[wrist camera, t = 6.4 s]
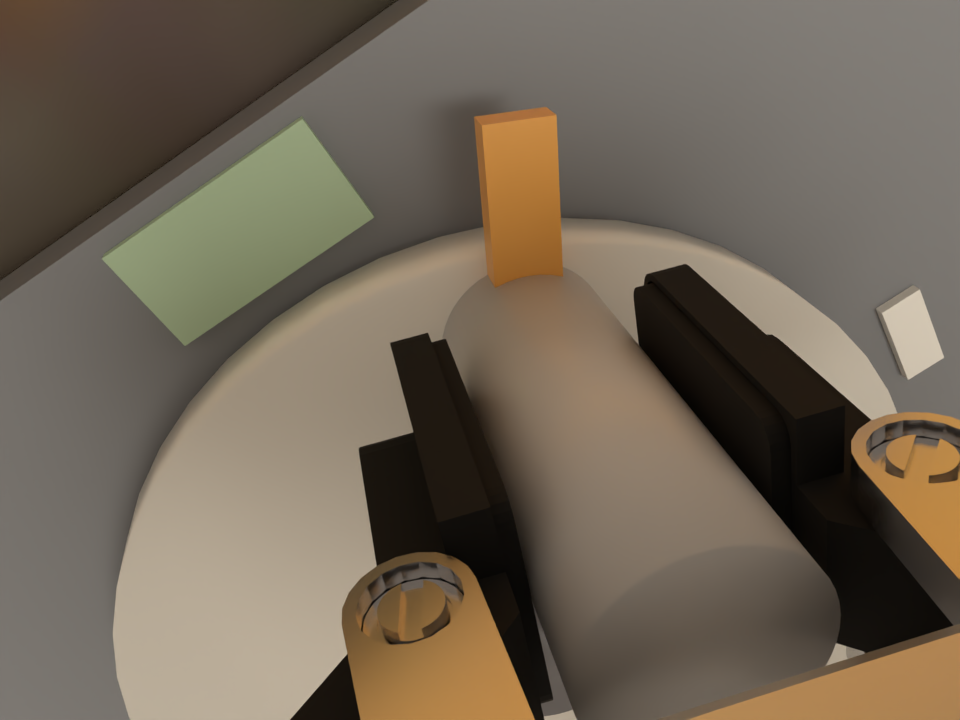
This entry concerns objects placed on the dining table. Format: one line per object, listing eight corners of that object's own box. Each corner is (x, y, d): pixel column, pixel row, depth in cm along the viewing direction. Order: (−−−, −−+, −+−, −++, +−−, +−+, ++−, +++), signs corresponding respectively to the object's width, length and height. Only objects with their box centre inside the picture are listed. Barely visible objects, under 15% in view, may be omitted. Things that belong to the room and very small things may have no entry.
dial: (832, 742, 22) (1074, 1106, 16) (226, 897, 20) (207, 1397, 13) (951, 32, 14) (1570, 163, 7) (-54, 165, 12) (-465, 521, 5)
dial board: (1083, 514, 23) (1138, 557, 22) (327, 962, 25) (331, 1029, 24) (850, -318, 13) (923, -344, 12) (-369, 540, 15) (-437, 609, 14)
